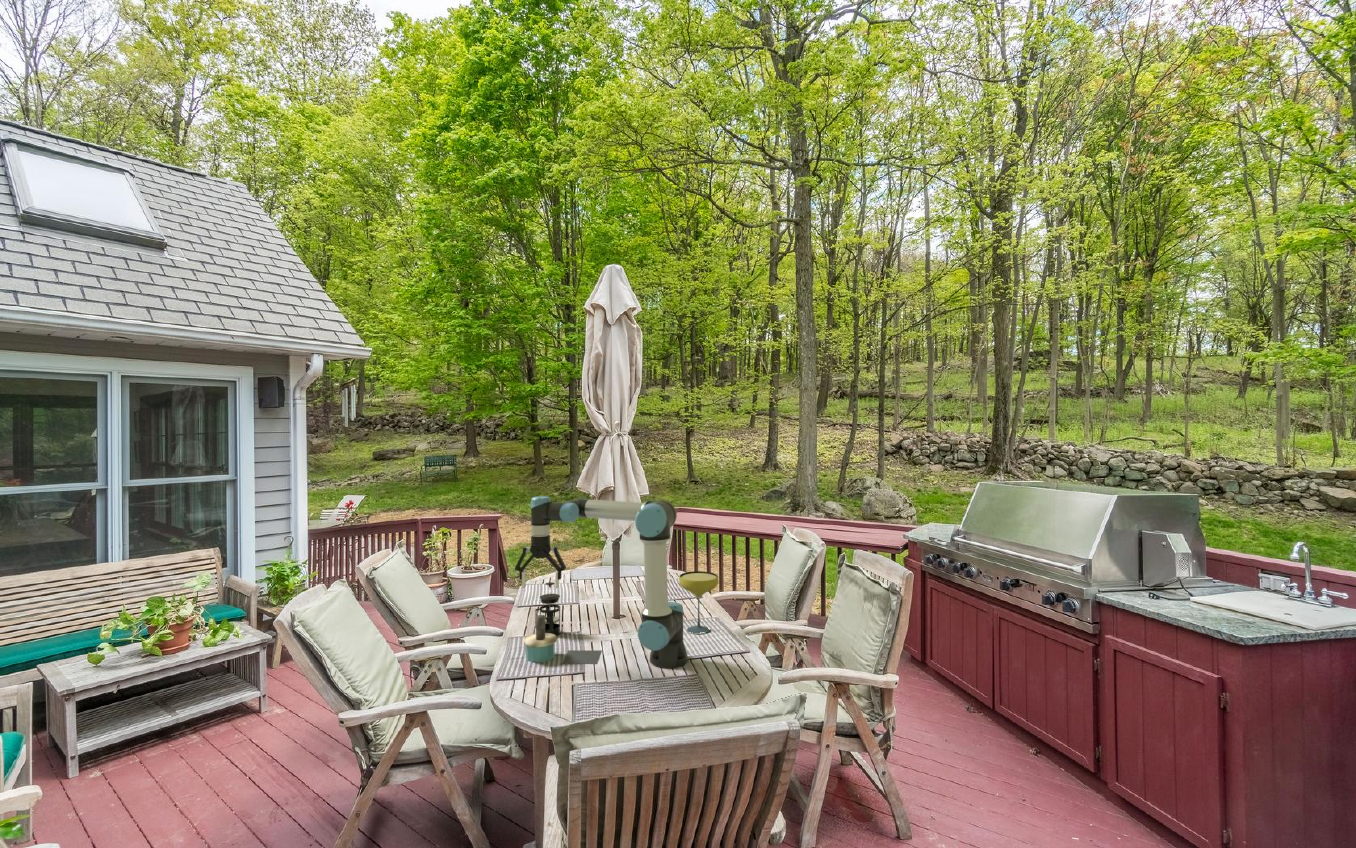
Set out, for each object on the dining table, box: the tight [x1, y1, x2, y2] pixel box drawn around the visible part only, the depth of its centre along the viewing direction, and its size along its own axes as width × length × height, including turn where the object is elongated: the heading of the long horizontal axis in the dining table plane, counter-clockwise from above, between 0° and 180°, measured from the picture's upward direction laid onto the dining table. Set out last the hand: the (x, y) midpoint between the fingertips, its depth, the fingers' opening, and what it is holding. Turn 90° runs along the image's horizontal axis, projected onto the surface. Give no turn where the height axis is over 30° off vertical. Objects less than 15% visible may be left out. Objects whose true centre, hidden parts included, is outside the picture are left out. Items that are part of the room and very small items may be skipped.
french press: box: [534, 581, 561, 636], centre depth 264 cm, size 12×9×23 cm
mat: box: [561, 649, 602, 665], centre depth 236 cm, size 14×14×1 cm
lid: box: [523, 614, 558, 647], centre depth 236 cm, size 13×13×10 cm
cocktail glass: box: [678, 570, 719, 634], centre depth 268 cm, size 18×18×25 cm
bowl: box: [525, 642, 556, 664], centre depth 236 cm, size 11×11×7 cm
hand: (540, 587), depth 236 cm, fingers open, 13 cm apart
